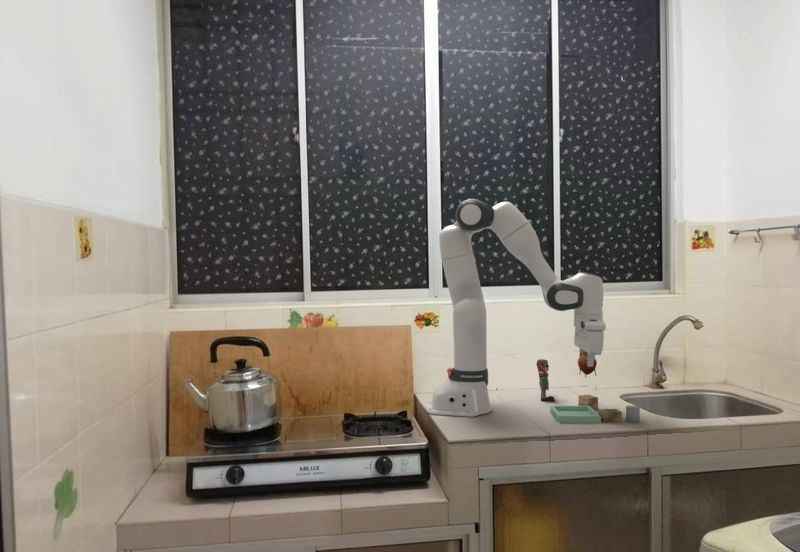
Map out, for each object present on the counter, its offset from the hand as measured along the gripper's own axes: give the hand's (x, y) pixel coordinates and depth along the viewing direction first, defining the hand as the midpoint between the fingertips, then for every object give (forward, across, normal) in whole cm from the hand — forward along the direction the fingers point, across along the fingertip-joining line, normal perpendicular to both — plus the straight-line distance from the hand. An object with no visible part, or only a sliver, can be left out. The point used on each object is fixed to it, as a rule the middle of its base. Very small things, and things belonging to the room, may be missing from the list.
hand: (586, 364), depth 177 cm
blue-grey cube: (+16, +7, +13) cm, 22 cm away
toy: (+17, -20, -9) cm, 28 cm away
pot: (+4, 0, 0) cm, 4 cm away
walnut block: (+17, +6, +6) cm, 19 cm away
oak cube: (+17, -8, +3) cm, 19 cm away
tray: (+17, +2, -4) cm, 18 cm away
